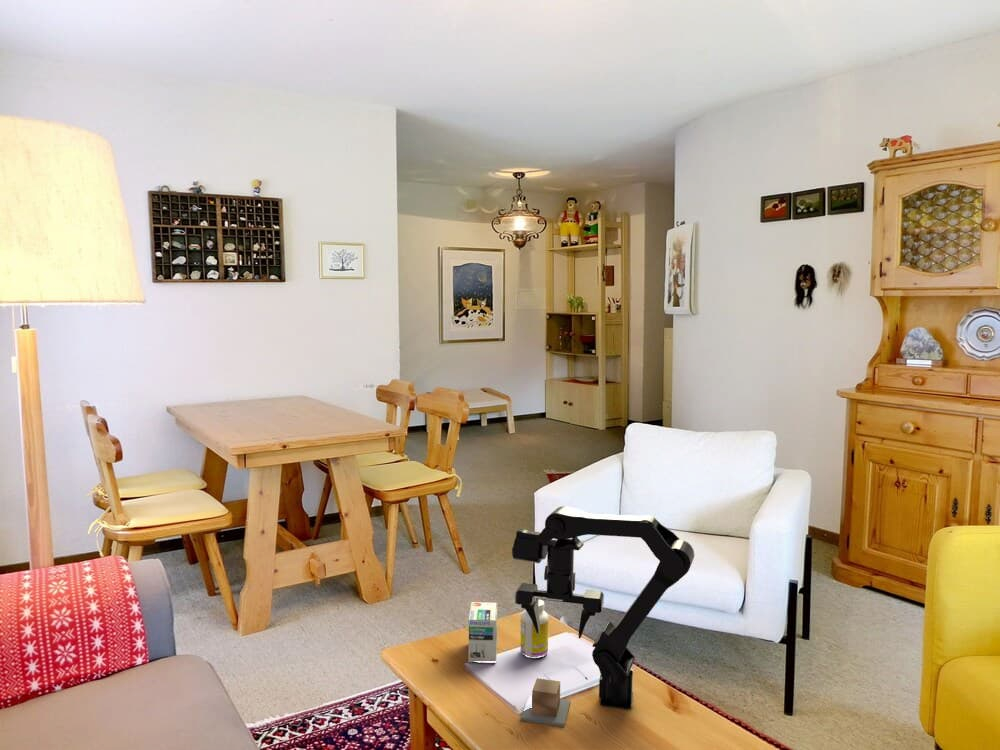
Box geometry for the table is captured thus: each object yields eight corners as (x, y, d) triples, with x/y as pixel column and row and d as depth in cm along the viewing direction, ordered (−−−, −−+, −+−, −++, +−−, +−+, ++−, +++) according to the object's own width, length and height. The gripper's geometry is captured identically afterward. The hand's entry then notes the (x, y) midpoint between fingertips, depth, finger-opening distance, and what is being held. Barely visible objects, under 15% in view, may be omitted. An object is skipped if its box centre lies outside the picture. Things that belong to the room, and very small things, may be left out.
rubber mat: (570, 702, 152) (570, 700, 152) (564, 726, 143) (564, 724, 143) (528, 697, 154) (528, 694, 154) (520, 720, 145) (520, 717, 145)
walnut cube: (559, 704, 150) (560, 681, 150) (556, 717, 145) (556, 693, 145) (536, 700, 151) (536, 678, 151) (531, 713, 146) (532, 690, 146)
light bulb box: (496, 664, 168) (496, 620, 167) (467, 664, 168) (467, 619, 167) (497, 643, 178) (497, 601, 177) (470, 642, 179) (470, 601, 177)
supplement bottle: (552, 651, 174) (553, 600, 173) (539, 662, 169) (540, 610, 167) (528, 644, 178) (529, 594, 177) (515, 655, 172) (515, 603, 171)
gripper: (606, 557, 161) (605, 624, 162) (525, 550, 165) (524, 615, 167) (602, 575, 150) (600, 646, 152) (515, 566, 154) (514, 636, 156)
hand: (558, 635), depth 157 cm, fingers open, 9 cm apart
